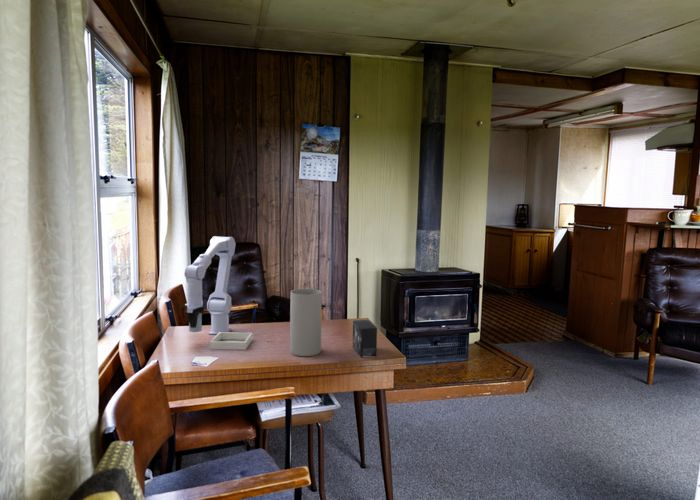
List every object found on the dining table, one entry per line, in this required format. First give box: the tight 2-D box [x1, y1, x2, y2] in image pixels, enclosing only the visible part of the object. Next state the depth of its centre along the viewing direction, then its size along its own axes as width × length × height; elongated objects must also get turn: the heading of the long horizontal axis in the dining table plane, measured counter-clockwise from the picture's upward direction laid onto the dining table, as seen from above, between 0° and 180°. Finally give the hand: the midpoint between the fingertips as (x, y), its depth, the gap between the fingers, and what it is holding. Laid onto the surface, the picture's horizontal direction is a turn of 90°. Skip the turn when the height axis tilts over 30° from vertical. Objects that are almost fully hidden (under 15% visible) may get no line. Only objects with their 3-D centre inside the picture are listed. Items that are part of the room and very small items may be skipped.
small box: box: [352, 319, 378, 358], centre depth 203 cm, size 13×7×12 cm, turn 15°
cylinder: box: [188, 313, 203, 333], centre depth 208 cm, size 5×5×7 cm
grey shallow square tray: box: [209, 331, 254, 351], centre depth 210 cm, size 15×15×3 cm
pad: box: [224, 340, 243, 342], centre depth 211 cm, size 7×7×1 cm
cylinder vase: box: [289, 288, 323, 357], centre depth 201 cm, size 12×12×25 cm
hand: (195, 325), depth 208 cm, fingers closed on cylinder, 5 cm apart
